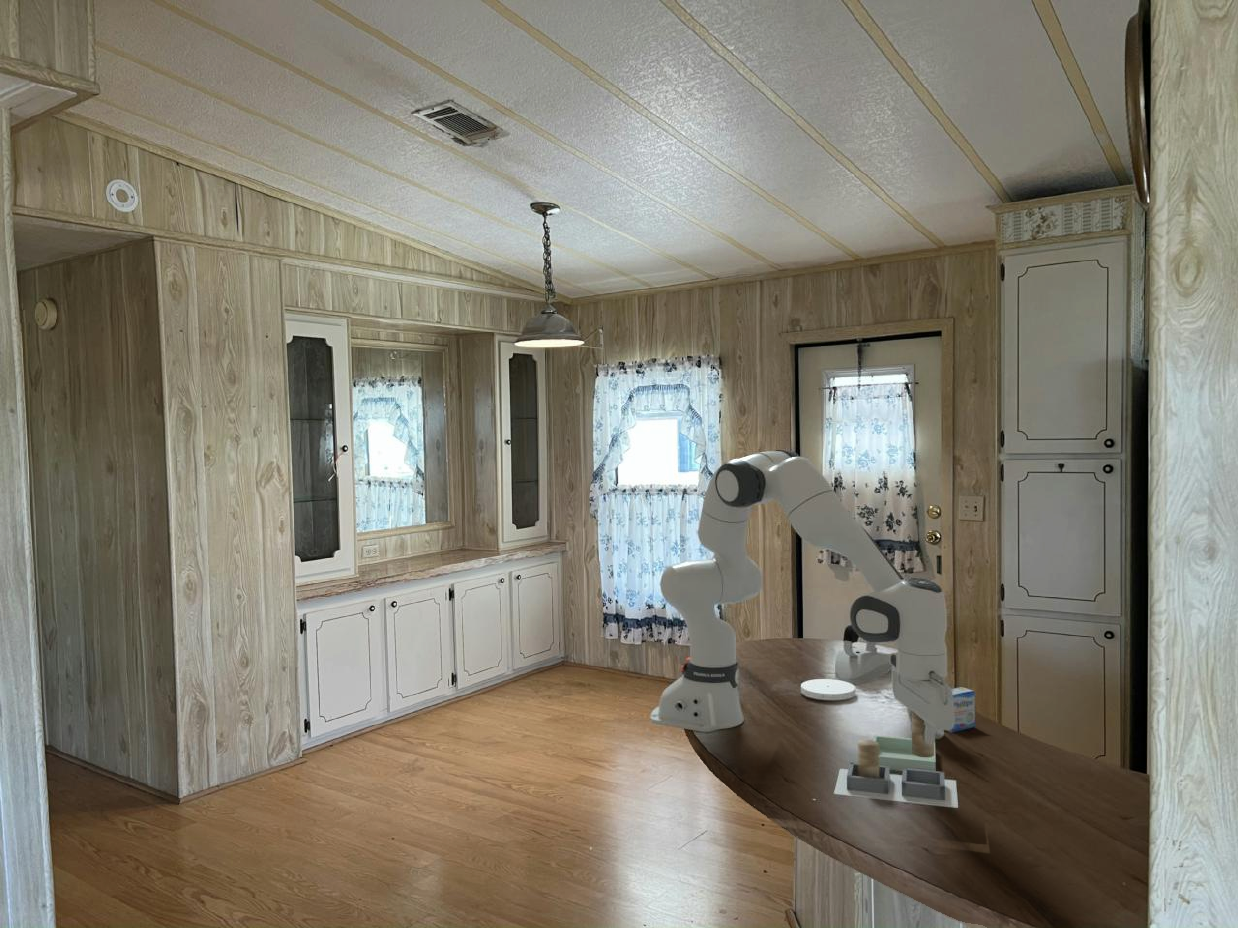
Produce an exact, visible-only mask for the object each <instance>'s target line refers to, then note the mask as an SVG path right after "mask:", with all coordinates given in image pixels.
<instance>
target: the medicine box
mask: <svg viewBox="0 0 1238 928" xmlns="http://www.w3.org/2000/svg"><path fill="white" fill-rule="evenodd" d="M951 690H952V694H953V700H954V712H955V724H954V727H953V728H952V729H946V730H944V732H949V733H950V734H953V733H957V732H961V731H965V730H967V729H968V730H969V729H971V728H972V729H973V728H975V727H976V723H975V722H976V721H975V719H976V715H975V713H976V710H975V709H976V708H975V707H976V706H975V704H976V703H975V702H976V701H975V699H976V698H975V697H976V696H975V694H976V693H975V691H974V690H973V689H970V688H967V687H961V686H959V687H954V688H951Z"/></svg>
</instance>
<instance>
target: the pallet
mask: <svg viewBox="0 0 1238 928" xmlns="http://www.w3.org/2000/svg"><path fill="white" fill-rule="evenodd" d="M901 772H902V773H901V774H894V773H891V770H890V766H881V765H879V778H870V777H860V776H858V762H850V761H849V764H848V769H846V768H839V771H838V776H837V779H836V784H835V788H834V791H833V795H839V796H848V797H857V798H865V799H873V800H875V799H876V800H882V801H883V800H884V801H893V802H900V803H907V804H908V803H909V804H917V805H926V806H935V807H945V808H955V809H959V804H958V803H959V802H958V801H959V800H958V792H957V791H958V790H957V780H953V779H945V771H941V770H939V771H937V770H936V771H930V770H920V769H910V768H903V771H901Z"/></svg>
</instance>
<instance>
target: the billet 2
mask: <svg viewBox="0 0 1238 928" xmlns="http://www.w3.org/2000/svg"><path fill="white" fill-rule="evenodd" d="M925 727H926V726H925V725H924V720H923V719H921V718H920V717H919V716H917V715H916V714H915V713H914V712H913V711H912V731H911V738H912V754H914V755H915V756H919V757H932V756H934V743H933V744H927V743H926V742H925V741H923V732H925Z"/></svg>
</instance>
